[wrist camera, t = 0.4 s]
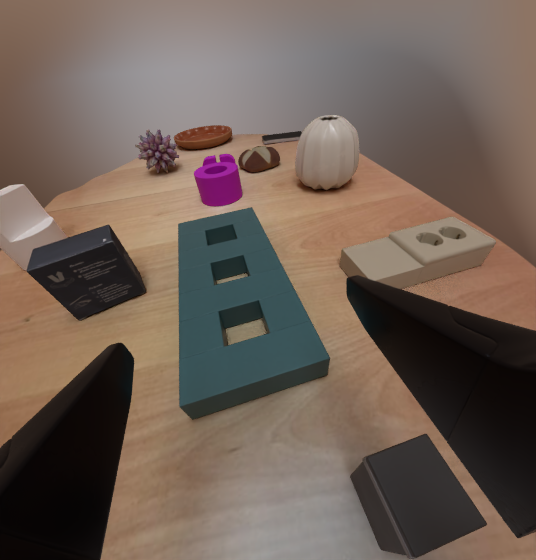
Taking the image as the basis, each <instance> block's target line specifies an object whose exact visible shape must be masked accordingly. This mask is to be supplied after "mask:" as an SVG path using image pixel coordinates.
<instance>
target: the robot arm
mask: <svg viewBox="0 0 536 560" xmlns="http://www.w3.org/2000/svg"><path fill="white" fill-rule="evenodd" d="M347 297H348V300H349V302H350V303H351V305H352V307H353V309H354V310H355V312H356V314H357V316H358V318H359V319H360V321H361V323H362V325H363V326H364V328H365V330H366V331H367V332H368V334H369V335H370V337H371V338H372V339H373V341H374V342H375V344H376V345H377V346H378V348H379V349H380V350H381V352H382V353H383V355H384V356H385V357H386V359H387V360H388V361H389V363H390V364H391V366H392V367H393V368H394V370H395V371H396V372H397V374H398V375H399V377H400V378H401V379H402V381H403V382H404V383H405V385H406V386H407V388H408V389H409V390H410V392H411V393H412V394H413V396H414V397H415V399H416V400H417V401H418V403H419V404H420V405H421V407H422V408H423V410H424V411H425V412H426V414H427V415H428V416H429V418H430V419H431V421H432V422H433V423H434V425H435V426H436V427H437V429H438V430H439V432H440V433H441V434H442V436H443V437H444V438H445V440H446V441H447V443H448V444H449V446H450V447H451V448H452V450H453V451H454V452H455V454H456V455H457V457H458V458H459V459H460V461H461V462H462V463H463V465H464V466H465V468H466V469H467V470H468V472H469V473H470V474H471V476H472V477H473V479H474V480H475V481H476V483H477V484H478V485H479V487H480V488H481V490H482V491H483V492H484V494H485V495H486V496H487V498H488V499H489V501H490V502H491V503H492V505H493V506H494V507H495V509H496V510H497V512H498V513H499V514H500V516H501V517H502V518H503V520H504V521H505V523H506V524H507V525H508V527H509V528H510V529H511V531H512V532H513V533H514V534H515V536H516V537H517V538H521V537H523V536H526V535H529V534H531V533H534V532H536V331H534V330H530V329H527V328H523V327H519V326H516V325H512V324H508V323H505V322H501V321H498V320H494V319H491V318H487V317H484V316H480V315H477V314H474V313H471V312H467V311H464V310H461V309H458V308H455V307H452V306H448V305H446V304H443V303H440V302H437V301H434V300H431V299H428V298H425V297H422V296H419V295H416V294H413V293H410V292H407V291H404V290H401V289H398V288H395V287H392V286H389V285H386V284H383V283H380V282H377V281H374V280H371V279H368V278H365V277H362V276H359V275H354V276H351V277H348V278H347ZM133 371H134V358H133V356H132V354H131V353H130V352H129V351H128V349H127V348H126V347H125V345H124V344H123V343H116V344H113V345H110V346H108V347H107V348H106V349H105V350H104V351H103V352H102V353H101V354H100V355H98V356H97V357H96V358H95V359H94V360H93V361H92V362H91V363H90V364H89V365H88V366H87V367H86V368H85V369H84V370H83V371H81V372H80V373H79V374H78V375H77V376H76V377H75V378H74V379H73V380H72V381H71V382H70V383H69V384H68V385H67V386H66V387H64V388H63V389H62V390H61V391H60V392H59V393H58V394H57V395H56V396H55V397H54V398H53V399H52V400H51V401H50V402H49V403H47V404H46V405H45V406H44V407H43V408H42V409H41V410H40V411H39V412H38V413H37V414H36V415H35V416H34V417H33V418H32V419H30V420H29V421H28V422H27V423H26V424H25V425H24V426H23V427H22V428H21V429H20V430H19V431H18V432H17V433H16V434H15V435H13V436H12V439H9V440H8V441H7V442H6V443H5V444H4V445H3V446H2V447H1V448H0V560H100V559H101V554H102V548H103V543H104V538H105V533H106V528H107V522H108V517H109V512H110V507H111V502H112V497H113V491H114V486H115V481H116V476H117V471H118V466H119V460H120V455H121V450H122V445H123V440H124V434H125V429H126V424H127V419H128V414H129V409H130V403H131V395H132V383H133Z"/></svg>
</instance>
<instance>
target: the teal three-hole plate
mask: <svg viewBox="0 0 536 560" xmlns="http://www.w3.org/2000/svg"><path fill="white" fill-rule="evenodd" d="M178 246H179V405H180V408H181V409H182V410H183V411H184V412H185V413H186V414H187V415H188V416H189V417H190V418H191V419H192V420H193V419H196V418H199V417H202V416H205V415H208V414H211V413H214V412H217V411H220V410H223V409H226V408H229V407H232V406H235V405H238V404H241V403H244V402H247V401H250V400H253V399H256V398H259V397H263V396H266V395H269V394H272V393H275V392H278V391H281V390H284V389H287V388H290V387H293V386H296V385H299V384H302V383H305V382H308V381H311V380H314V379H317V378H320V377H323V376H326V375H327V374H328V368H329V361H330V357H329V355H328V353H327V351H326V349H325V347H324V345H323V343H322V342H321V340H320V338H319V336H318V334H317V332H316V330H315V328H314V326H313V324H312V322H311V320H310V318H309V316H308V314H307V313H306V311H305V309H304V307H303V305H302V303H301V301H300V299H299V297H298V295H297V293H296V291H295V290H294V288H293V286H292V284H291V282H290V280H289V278H288V276H287V274H286V272H285V270H284V268H283V266H282V264H281V263H280V261H279V259H278V257H277V255H276V253H275V251H274V249H273V247H272V245H271V243H270V241H269V239H268V237H267V235H266V234H265V232H264V230H263V228H262V226H261V224H260V222H259V220H258V218H257V216H256V214H255V212H254V210H253V208H252V207H251V208H247V209H242V210H238V211H233V212H229V213H224V214H220V215H215V216H211V217H207V218H202V219H198V220H193V221H189V222H184V223H180V224H178ZM243 273H247V274H248V277H244V278H240V279H236V280H233V281H229V282H225V283H221V284H217V281H216V280H220V279H223V278H227V277H231V276H235V275H239V274H243ZM260 318H262V319H263V322H264V325H265V328H266V331H267V334H265V335H262V336H258V337H255V338H251V339H248V340H245V341H241V342H238V343H235V344H231V345H228V343H227V337H226V332H225V328H229V327H232V326H236V325H239V324H243V323H246V322H250V321H253V320H256V319H260Z"/></svg>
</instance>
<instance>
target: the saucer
mask: <svg viewBox="0 0 536 560" xmlns="http://www.w3.org/2000/svg"><path fill="white" fill-rule="evenodd" d="M231 136H232V130H231V128H230V127H228V126H219V125H218V126H206V127H205V126H204V127H198V128H193V129H189V130H186V131H183V132H180V133H178V134H177V135H175V136H174V140H175V143H176V144H177V145H179V146H181V147H183V148H187V149H203V148H210V147H214V146H217V145H220V144H222V143H224V142H226V141H227V140H228V139H229V138H230V137H231Z"/></svg>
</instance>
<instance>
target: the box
mask: <svg viewBox="0 0 536 560" xmlns="http://www.w3.org/2000/svg"><path fill="white" fill-rule="evenodd" d="M27 272H28V273H29V274H30V275H31V276H32V277H33V278H34V279H35V280H36V281H37V282H38V283H39V284H41V285H42V286H43V287H44V288H45V289H46V290H47V291H48V292H49V293H50V294H51V295H53V296H54V297H55V298H56V299H57V300H58V301H59V302H60V303H61V304H62V305H63V306H64V307H65V308H66V309H67V310H68V311H69V312H70V313H71V314H73V316H74V317H76V318H77V319H78V320H83V319H85V318H86V317H87V316H90V315H92V314H95V313H98V312H99V311H102V310H104V309H107V308H109V307H111V306H114V305H116V304H118V303H121V302H123V301H125V300H128V299H130V298H133V297H135V296H137V295H141V294H143V293H145V292H146V290H145V287H144V284H143V281H142V278H141V275H140V273H139V271H138V269H137V268H136V266H135V265H134V263H133V261H132V260H131V258H130V257H129V255H128V253H127V252H126V250H125V249H124V247H123V246H122V244H121V242H120V241H119V239H118V238H117V236H116V235H115V233H114V232H113V230H112V228H111V227H110V226H109V225H106V226H103V227H100V228H96V229H93V230H90V231H87V232H84V233H81V234H78V235H75V236H72V237H69V238H66V239H63V240H60V241H57V242H53V243H50V244H47V245H44V246H41V247H38V248H35V249H33V250H32V253H31V257H30V260H29V263H28V267H27Z"/></svg>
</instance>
